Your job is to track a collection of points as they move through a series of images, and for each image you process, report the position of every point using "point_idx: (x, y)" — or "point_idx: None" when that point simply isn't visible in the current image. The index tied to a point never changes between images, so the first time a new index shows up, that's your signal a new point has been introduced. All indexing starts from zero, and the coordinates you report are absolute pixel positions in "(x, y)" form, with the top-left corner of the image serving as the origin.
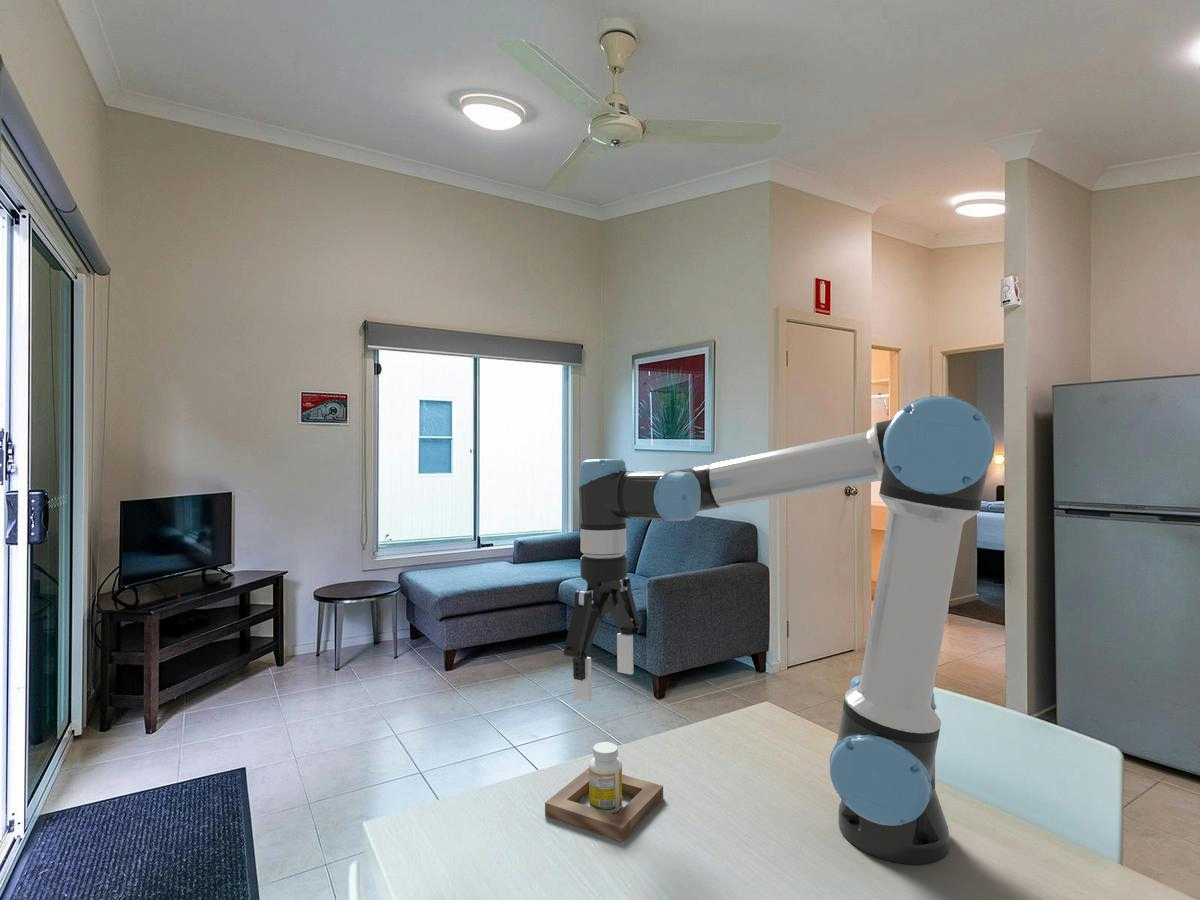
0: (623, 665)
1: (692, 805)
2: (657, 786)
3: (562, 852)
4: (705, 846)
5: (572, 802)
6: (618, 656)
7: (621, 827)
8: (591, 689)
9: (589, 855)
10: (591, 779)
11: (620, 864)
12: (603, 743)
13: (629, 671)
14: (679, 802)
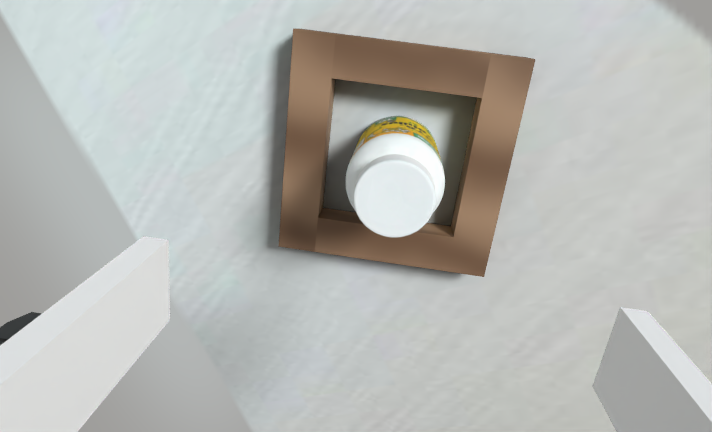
0: (626, 373)
1: (470, 324)
2: (476, 265)
3: (197, 137)
4: (339, 370)
5: (324, 99)
6: (665, 377)
7: (279, 244)
8: (143, 350)
9: (215, 191)
10: (356, 148)
11: (220, 254)
12: (418, 183)
13: (601, 387)
14: (473, 298)
